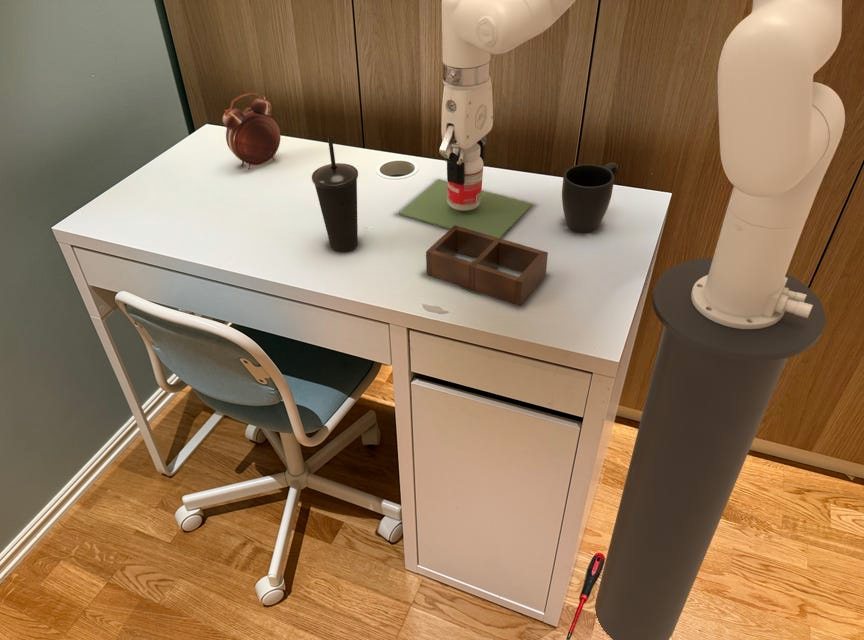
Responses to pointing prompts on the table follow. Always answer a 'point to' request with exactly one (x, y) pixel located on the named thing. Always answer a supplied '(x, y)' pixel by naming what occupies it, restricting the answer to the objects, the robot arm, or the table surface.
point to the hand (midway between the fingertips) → (465, 173)
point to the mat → (486, 218)
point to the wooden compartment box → (487, 264)
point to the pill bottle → (467, 181)
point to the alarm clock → (252, 131)
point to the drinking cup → (338, 202)
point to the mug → (587, 195)
